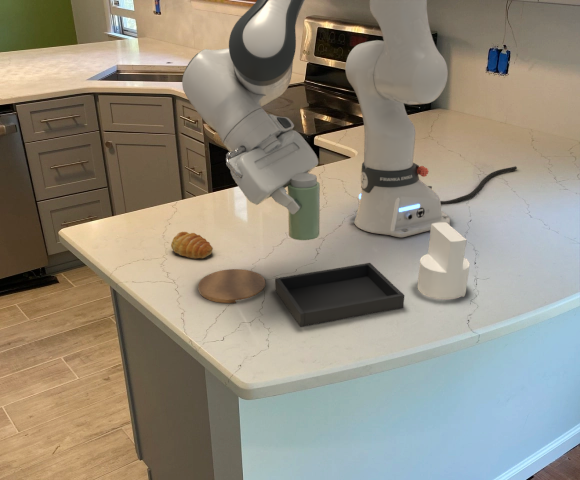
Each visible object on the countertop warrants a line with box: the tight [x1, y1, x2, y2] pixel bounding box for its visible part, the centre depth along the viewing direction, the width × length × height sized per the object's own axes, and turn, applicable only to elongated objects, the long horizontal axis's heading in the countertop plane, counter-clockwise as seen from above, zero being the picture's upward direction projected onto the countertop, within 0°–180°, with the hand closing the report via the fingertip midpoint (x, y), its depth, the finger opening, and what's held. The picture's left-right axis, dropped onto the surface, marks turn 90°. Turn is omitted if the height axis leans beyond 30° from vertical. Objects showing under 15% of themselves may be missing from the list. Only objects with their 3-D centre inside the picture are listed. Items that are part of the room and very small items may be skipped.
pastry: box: [170, 231, 214, 259], centre depth 135 cm, size 9×7×4 cm
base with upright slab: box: [417, 222, 471, 301], centre depth 115 cm, size 9×9×12 cm
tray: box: [274, 262, 405, 328], centre depth 115 cm, size 20×15×3 cm
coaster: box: [197, 268, 266, 304], centre depth 121 cm, size 13×13×1 cm
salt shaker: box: [287, 173, 321, 241], centre depth 107 cm, size 5×5×10 cm
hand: (307, 204), depth 106 cm, fingers closed on salt shaker, 5 cm apart
